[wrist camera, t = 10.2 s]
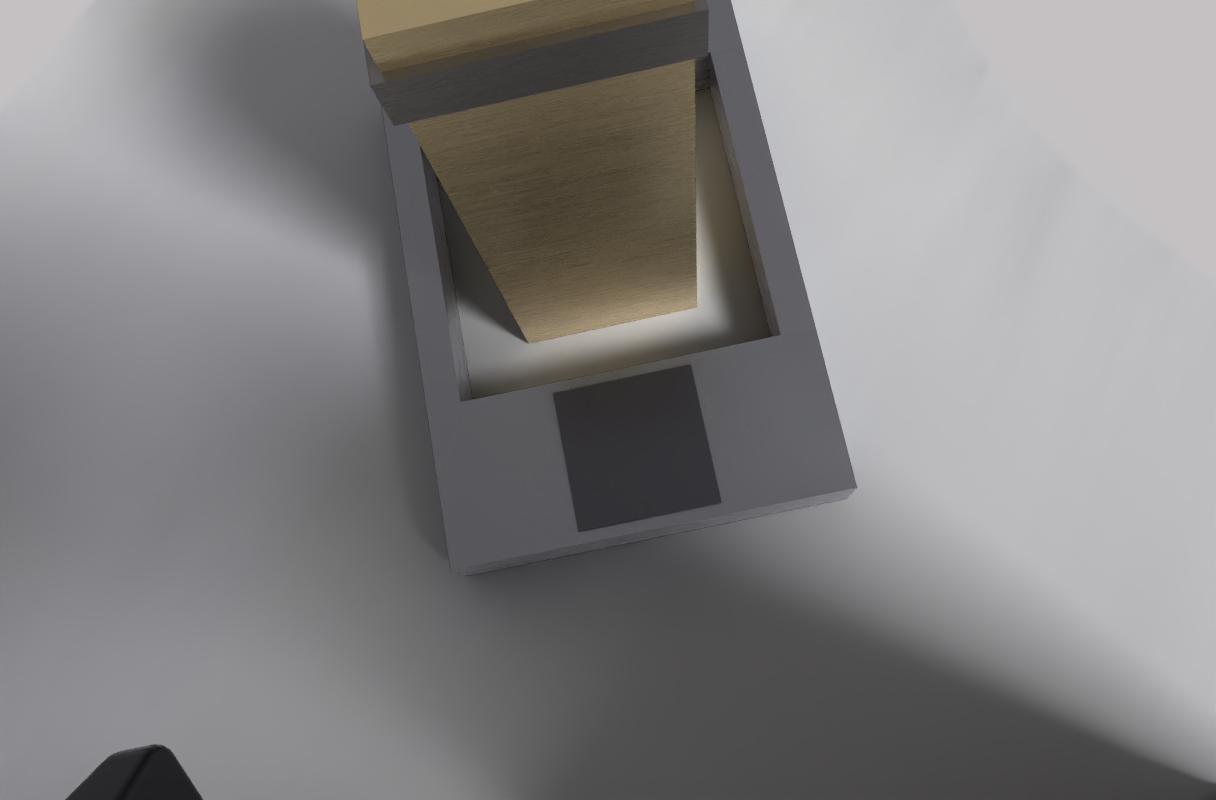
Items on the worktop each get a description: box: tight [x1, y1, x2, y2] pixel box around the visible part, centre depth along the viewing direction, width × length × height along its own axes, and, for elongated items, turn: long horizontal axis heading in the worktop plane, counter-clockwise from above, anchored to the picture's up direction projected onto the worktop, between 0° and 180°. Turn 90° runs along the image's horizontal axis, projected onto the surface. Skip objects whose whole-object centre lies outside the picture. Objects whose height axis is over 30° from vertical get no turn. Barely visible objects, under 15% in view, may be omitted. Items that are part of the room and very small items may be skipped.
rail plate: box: [381, 0, 857, 576], centre depth 23 cm, size 12×8×2 cm
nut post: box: [356, 0, 709, 343], centre depth 18 cm, size 4×4×12 cm
